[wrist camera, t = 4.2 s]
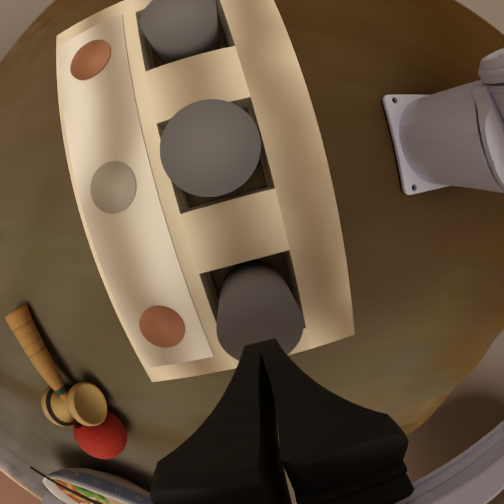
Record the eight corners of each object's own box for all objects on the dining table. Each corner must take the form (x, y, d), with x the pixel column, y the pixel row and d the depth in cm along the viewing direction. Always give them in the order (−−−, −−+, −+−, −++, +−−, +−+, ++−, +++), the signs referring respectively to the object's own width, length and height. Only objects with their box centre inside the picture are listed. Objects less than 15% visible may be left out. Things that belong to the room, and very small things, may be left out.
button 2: (243, 112, 15) (246, 88, 10) (261, 181, 16) (272, 182, 12) (171, 132, 15) (150, 116, 10) (190, 201, 16) (174, 209, 12)
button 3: (279, 254, 17) (294, 279, 13) (293, 314, 18) (309, 352, 14) (211, 272, 17) (204, 303, 13) (230, 330, 18) (230, 371, 14)
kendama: (13, 316, 21) (99, 442, 23) (-19, 331, 15) (86, 475, 17) (54, 288, 22) (146, 429, 24) (20, 301, 16) (137, 465, 18)
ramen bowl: (55, 469, 28) (43, 497, 20) (46, 416, 23) (23, 456, 16) (173, 516, 32) (170, 546, 24) (213, 484, 28) (212, 530, 20)
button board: (254, -8, 14) (258, -36, 10) (338, 312, 21) (356, 337, 17) (77, 50, 14) (54, 34, 10) (161, 355, 21) (151, 385, 17)
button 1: (212, 15, 14) (208, -19, 10) (225, 59, 15) (223, 28, 11) (153, 32, 14) (136, 2, 10) (163, 77, 15) (144, 52, 11)
